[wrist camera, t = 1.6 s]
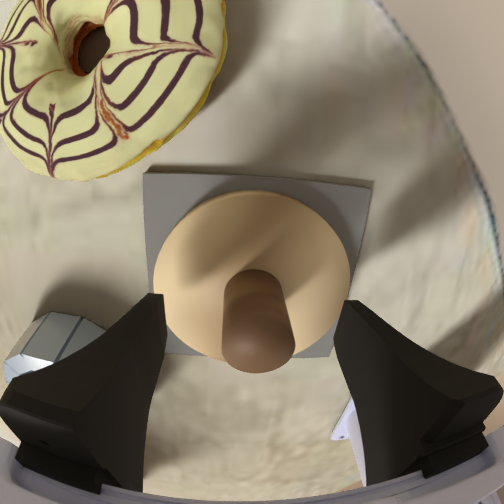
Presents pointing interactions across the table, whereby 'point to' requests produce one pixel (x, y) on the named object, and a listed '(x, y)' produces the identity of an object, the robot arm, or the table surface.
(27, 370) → the bowl
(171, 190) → the rubber mat
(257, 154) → the table surface
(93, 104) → the decorated donut
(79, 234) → the table surface
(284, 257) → the bamboo lid
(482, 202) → the table surface
